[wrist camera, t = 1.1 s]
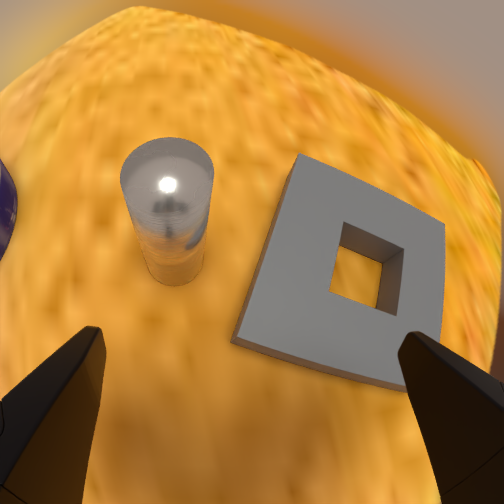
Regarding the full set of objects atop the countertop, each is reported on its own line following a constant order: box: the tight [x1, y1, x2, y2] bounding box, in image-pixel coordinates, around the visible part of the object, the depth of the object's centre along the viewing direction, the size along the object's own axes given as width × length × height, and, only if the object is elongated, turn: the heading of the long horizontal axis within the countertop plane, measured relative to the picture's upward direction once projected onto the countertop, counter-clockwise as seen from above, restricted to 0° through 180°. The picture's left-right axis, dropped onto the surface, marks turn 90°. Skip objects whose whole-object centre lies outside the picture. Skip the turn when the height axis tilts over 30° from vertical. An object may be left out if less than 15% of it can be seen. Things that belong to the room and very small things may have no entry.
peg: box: [120, 137, 214, 286], centre depth 19 cm, size 4×4×11 cm
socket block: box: [231, 153, 445, 392], centre depth 24 cm, size 16×16×4 cm
